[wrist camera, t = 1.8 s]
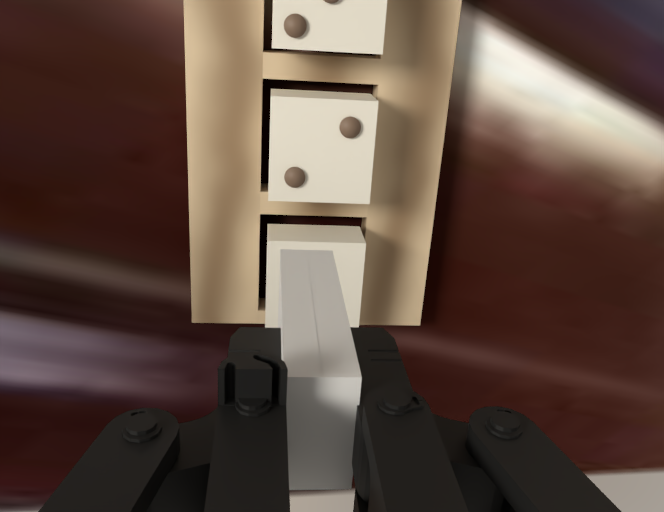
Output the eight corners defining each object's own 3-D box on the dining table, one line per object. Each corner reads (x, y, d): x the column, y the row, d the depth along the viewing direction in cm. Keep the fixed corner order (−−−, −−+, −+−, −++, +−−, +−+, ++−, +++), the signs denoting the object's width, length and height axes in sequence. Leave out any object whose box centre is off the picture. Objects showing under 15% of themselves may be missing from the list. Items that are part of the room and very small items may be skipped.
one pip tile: (265, 306, 43) (264, 330, 40) (267, 223, 40) (267, 241, 37) (352, 308, 43) (358, 331, 40) (359, 226, 41) (366, 244, 38)
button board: (195, 309, 45) (191, 322, 43) (185, -105, 35) (181, -111, 33) (414, 312, 47) (420, 325, 45) (462, -82, 37) (473, -86, 35)
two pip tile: (268, 186, 39) (268, 201, 36) (270, 88, 37) (270, 96, 34) (362, 189, 40) (370, 205, 37) (370, 93, 38) (379, 102, 35)
